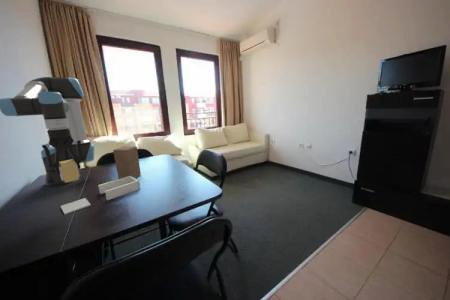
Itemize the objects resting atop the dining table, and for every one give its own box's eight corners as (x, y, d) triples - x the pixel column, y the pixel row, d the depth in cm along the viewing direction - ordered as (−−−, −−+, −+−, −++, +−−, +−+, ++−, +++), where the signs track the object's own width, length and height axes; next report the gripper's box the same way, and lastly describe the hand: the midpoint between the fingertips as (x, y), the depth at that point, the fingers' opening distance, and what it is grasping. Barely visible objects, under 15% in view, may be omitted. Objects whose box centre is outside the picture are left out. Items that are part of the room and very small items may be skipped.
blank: (63, 180, 88) (58, 161, 86) (76, 176, 92) (72, 159, 90) (65, 182, 85) (60, 163, 83) (79, 179, 89) (74, 161, 87)
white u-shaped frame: (100, 193, 104) (98, 185, 103) (131, 183, 116) (130, 175, 115) (107, 200, 96) (105, 191, 95) (140, 188, 108) (138, 180, 107)
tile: (60, 207, 91) (60, 205, 91) (85, 199, 98) (85, 197, 98) (64, 214, 85) (64, 213, 85) (90, 205, 92) (90, 204, 92)
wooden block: (131, 180, 121) (126, 150, 116) (118, 179, 123) (112, 149, 118) (141, 174, 131) (136, 146, 126) (128, 173, 133) (123, 146, 128)
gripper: (30, 132, 74) (46, 186, 79) (85, 126, 87) (95, 173, 93) (28, 130, 78) (43, 182, 84) (80, 125, 92) (90, 170, 97)
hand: (70, 177), depth 88 cm, fingers closed on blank, 5 cm apart
